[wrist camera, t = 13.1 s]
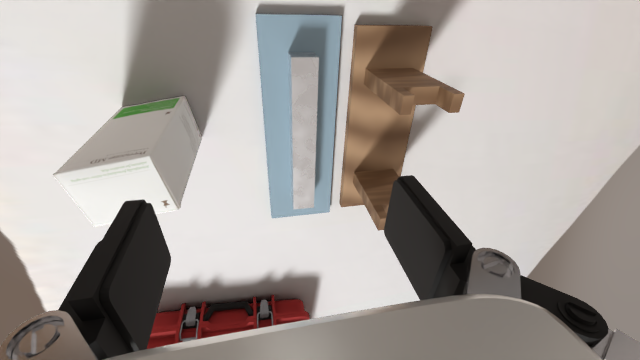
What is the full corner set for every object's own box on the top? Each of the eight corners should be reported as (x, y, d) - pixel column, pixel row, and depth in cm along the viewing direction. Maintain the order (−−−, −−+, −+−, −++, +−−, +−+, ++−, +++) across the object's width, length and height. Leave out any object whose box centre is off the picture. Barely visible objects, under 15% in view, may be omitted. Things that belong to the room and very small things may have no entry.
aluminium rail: (288, 52, 36) (291, 57, 33) (313, 52, 36) (318, 57, 34) (291, 197, 48) (293, 209, 45) (310, 195, 48) (313, 207, 46)
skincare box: (186, 94, 37) (153, 151, 24) (204, 141, 41) (184, 211, 28) (117, 107, 36) (46, 172, 23) (142, 153, 40) (92, 231, 27)
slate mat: (255, 13, 34) (255, 14, 33) (339, 15, 35) (341, 15, 35) (271, 214, 50) (271, 218, 49) (328, 208, 52) (329, 212, 51)
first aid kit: (162, 364, 68) (152, 408, 61) (142, 303, 56) (127, 348, 49) (297, 346, 76) (302, 382, 69) (306, 288, 64) (313, 325, 56)
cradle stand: (354, 24, 36) (397, 40, 26) (427, 25, 38) (495, 40, 28) (339, 202, 52) (362, 257, 41) (392, 197, 54) (427, 248, 43)
